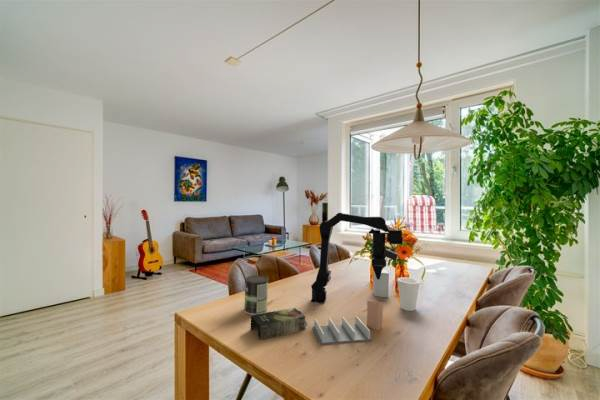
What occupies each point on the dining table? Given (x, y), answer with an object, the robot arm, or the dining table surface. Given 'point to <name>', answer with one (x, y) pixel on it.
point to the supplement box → (381, 284)
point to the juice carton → (278, 322)
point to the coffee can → (256, 295)
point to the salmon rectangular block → (374, 314)
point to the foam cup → (408, 293)
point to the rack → (341, 332)
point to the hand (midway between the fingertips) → (378, 276)
